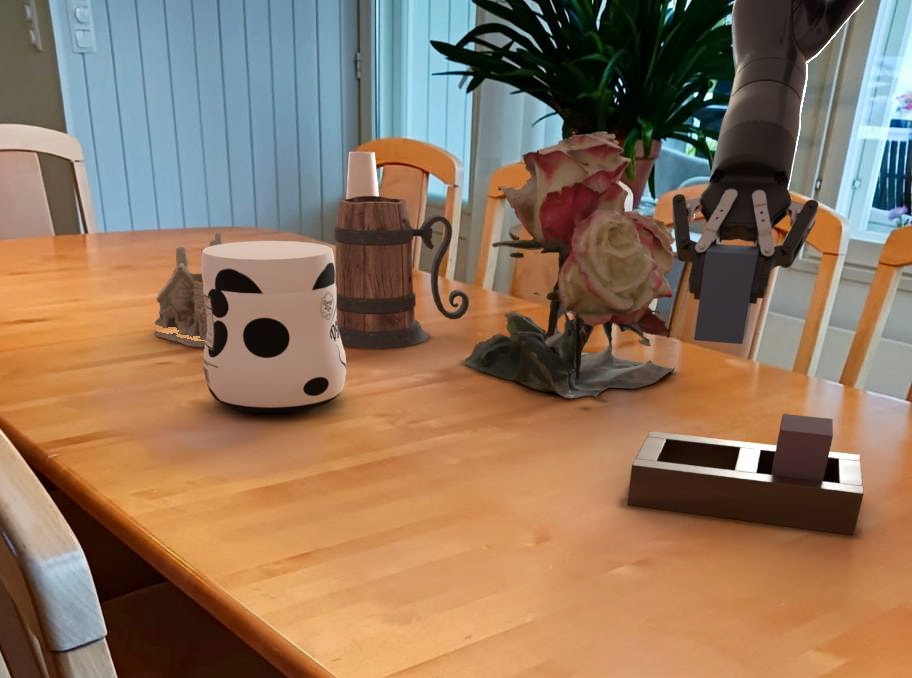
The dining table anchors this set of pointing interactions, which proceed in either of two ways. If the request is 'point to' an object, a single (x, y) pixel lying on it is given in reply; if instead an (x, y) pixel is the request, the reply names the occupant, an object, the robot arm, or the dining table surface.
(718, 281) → the blue-gray rectangular block
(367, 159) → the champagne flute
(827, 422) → the seated pad
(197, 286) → the ceramic cottage
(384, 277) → the tankard
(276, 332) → the milk container
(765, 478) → the frame
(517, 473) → the dining table surface
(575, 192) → the rose bouquet
